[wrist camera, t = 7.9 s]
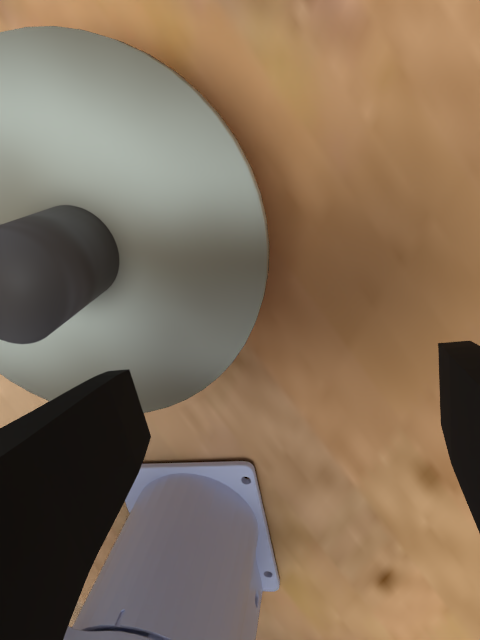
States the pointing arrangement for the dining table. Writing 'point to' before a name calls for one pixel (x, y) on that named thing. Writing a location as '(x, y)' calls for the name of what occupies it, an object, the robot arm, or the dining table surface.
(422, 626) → the dining table surface
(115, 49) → the lid
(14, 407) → the dining table surface
